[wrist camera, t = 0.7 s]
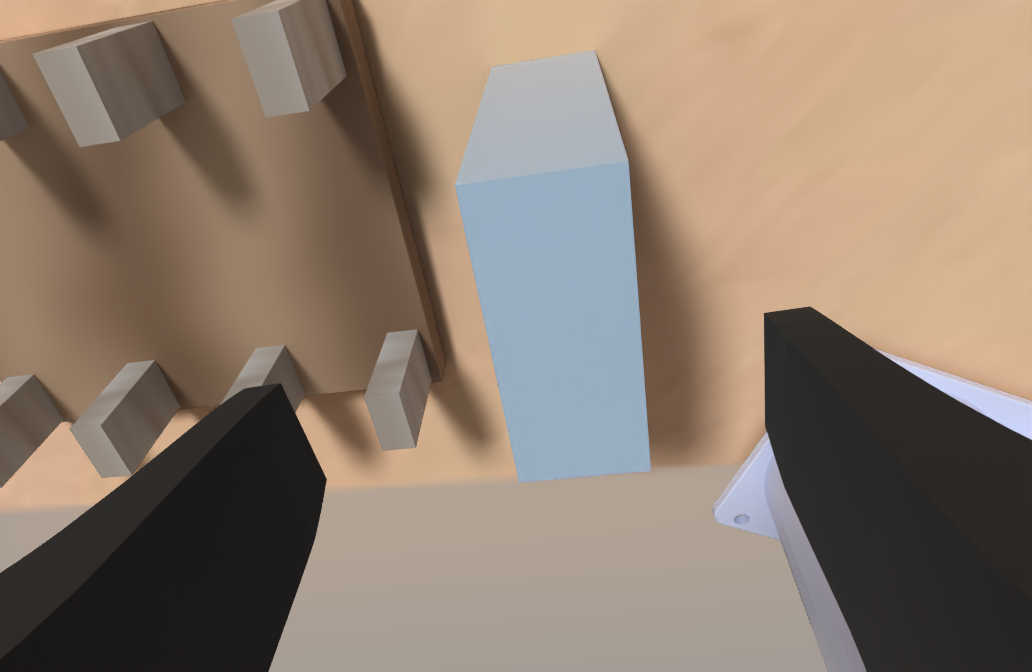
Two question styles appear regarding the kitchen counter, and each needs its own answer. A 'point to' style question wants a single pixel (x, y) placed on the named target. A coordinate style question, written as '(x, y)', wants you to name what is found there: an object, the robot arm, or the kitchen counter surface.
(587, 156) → the slate-blue tile
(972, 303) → the kitchen counter surface
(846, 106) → the kitchen counter surface
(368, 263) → the walnut rack
